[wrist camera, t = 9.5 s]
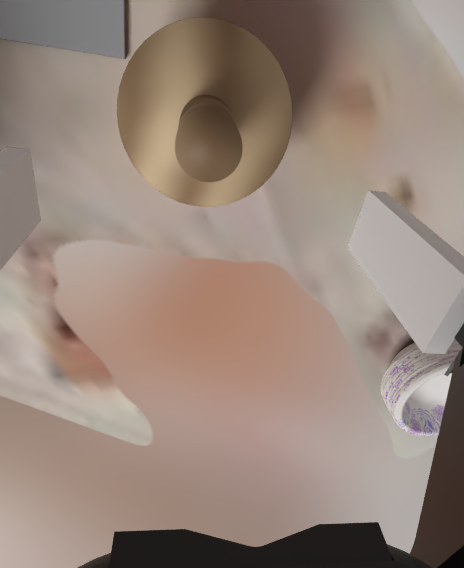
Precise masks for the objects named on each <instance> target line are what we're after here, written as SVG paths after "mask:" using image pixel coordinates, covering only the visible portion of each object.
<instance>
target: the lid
mask: <svg viewBox="0 0 464 568" xmlns="http://www.w3.org/2000/svg"><path fill="white" fill-rule="evenodd" d="M117 118H118V126H119V131H120V136H121V139H122V142H123V145H124V148H125V150H126V152H127V154H128V156H129V158H130V160H131V162H132V163H133V165H134V167H135V168H136V170H137V171H138V172H139V173H140V174H141V176H142V177H143V178H144V179H145V180H146V181H147V182H148V183H149V184H150V185H151V186H153V187H154V188H155V189H156V190H158V191H159V192H161V193H162V194H164V195H166V196H167V197H169V198H171V199H174V200H176V201H178V202H181V203H185V204H188V205H194V206H202V207H212V206H221V205H226V204H230V203H233V202H236V201H238V200H240V199H242V198H245V197H247V196H248V195H250V194H251V193H253V192H254V191H256V190H257V189H258V188H259V187H261V186H262V185H263V184H264V183H265V182H266V181H267V180H268V179H269V178H270V177H271V175H272V174H273V173H274V171H275V170H276V169H277V167H278V165H279V164H280V162H281V160H282V158H283V156H284V153H285V151H286V149H287V146H288V142H289V139H290V134H291V128H292V100H291V95H290V90H289V87H288V84H287V81H286V78H285V75H284V73H283V71H282V69H281V67H280V65H279V63H278V61H277V60H276V58H275V57H274V55H273V54H272V53H271V51H270V50H269V49H268V48H267V47H266V46H265V45H264V43H263V42H261V41H260V40H259V39H258V38H257V37H256V36H254V35H253V34H252V33H250V32H249V31H247V30H245V29H244V28H242V27H240V26H238V25H236V24H233V23H231V22H228V21H224V20H221V19H216V18H207V17H199V18H189V19H184V20H180V21H177V22H174V23H172V24H169V25H167V26H165V27H163V28H162V29H160V30H158V31H157V32H155V33H154V34H153V35H151V36H150V37H149V38H148V39H147V40H145V41H144V42H143V44H142V45H141V46H140V47H139V48H138V49H137V50H136V52H135V53H134V55H133V56H132V58H131V60H130V61H129V63H128V65H127V67H126V69H125V72H124V74H123V77H122V80H121V84H120V87H119V93H118V99H117Z"/></svg>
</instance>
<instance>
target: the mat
mask: <svg viewBox="0 0 464 568" xmlns="http://www.w3.org/2000/svg"><path fill="white" fill-rule="evenodd" d="M0 39H6V40H12V41H18V42H24V43H30V44H36V45H42V46H48V47H55V48H61V49H67V50H73V51H79V52H85V53H91V54H97V55H103V56H109V57H115V58H122V59H126V44H125V0H0Z"/></svg>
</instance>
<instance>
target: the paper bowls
mask: <svg viewBox="0 0 464 568" xmlns="http://www.w3.org/2000/svg"><path fill="white" fill-rule="evenodd" d="M462 348H463V347H462V346H461V345H460V344H459V343H458V342H457V340H456V339H454V341H453V342H452V344H451V345H450V347H449V348H448V350H447V351H446V353H445V354H434V353H422V352H421V350H420V349H419V347H418V346H417V345H416V343H412V344H410V345H409V346H407V347H405V348H404V349H403V350H401V351H400V352H399V353H398V354H397V355H396V356H395V358H394V359H393V360H392V362H391V364H390V367H389V368H388V369H387V371H386V372H385V374H384V376H383V379H382V382H381V394H382V397H383V399H384V402H385V403H386V405H387V407H388V409H389V411H390V412H391V414H392V416H393V418H394V420H395V422H396V423H397V425H398V426H399V427H400V428H401V429H403V430H404V431H406V432H408V433H411V434H415V435H421V436H435V435H439V430H440V426H441V421H442V417H443V412H444V408H445V403H446V399H447V394H448V390H449V385H450V381H451V376H452V373H450V374H449V375H448V376H446V375H444V374H445V372H446V371H447V369H448V368H449V366H450V365H451V364H452V362H453V361H454V359H455V358H456V356H457V355H458V353H459V352H460V350H461V349H462Z"/></svg>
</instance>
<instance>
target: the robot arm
mask: <svg viewBox="0 0 464 568" xmlns="http://www.w3.org/2000/svg"><path fill="white" fill-rule="evenodd" d="M40 221H41V217H40V210H39V204H38V198H37V191H36V185H35V179H34V172H33V166H32V159H31V153H30V149H22V148H13V147H6V148H4V149H2V150H1V151H0V270H1V269H2V268H3V266H4V265H5V264H6V263H7V261H8V260H9V259H10V258H11V256H12V255H13V254H14V253H15V252H16V250H17V249H18V248H19V247H20V245H21V244H22V243H23V242H24V240H25V239H26V238H27V237H28V235H29V234H30V233H31V232H32V231H33V229H34V228H35V227H36V226H37V224H38V223H39V222H40ZM347 249H348V250H349V252H350V253H351V254H352V256H353V257H354V259H355V260H356V261H357V263H358V264H359V266H360V267H361V268H362V270H363V271H364V272H365V274H366V275H367V277H368V278H369V279H370V281H371V282H372V284H373V285H374V286H375V288H376V289H377V290H378V292H379V293H380V295H381V296H382V297H383V299H384V300H385V302H386V303H387V304H388V306H389V307H390V309H391V310H392V311H393V313H394V314H395V315H396V317H397V318H398V320H399V321H400V322H401V324H402V325H403V327H404V328H405V329H406V331H407V332H408V333H409V335H410V336H411V338H412V339H413V340H414V342H415V343H416V345H417V346H418V347H419V349H420V350H421V352H422V353H434V354H445V353H446V351H447V350H448V348H449V347H450V345H451V344H452V342H453V341H454V339H456V340H457V342H458V343H459V344H460V345H461V346H462V347H463V348H462V349H461V350H460V352H459V353H458V355H457V356H456V358H455V359H454V361H453V362H452V364H451V365H450V366H449V368H448V369H447V371H446V372H445V374H444V375H446V376H448V375H449V374H450V373H452V376H451V381H450V385H449V390H448V394H447V399H446V403H445V408H444V412H443V417H442V421H441V426H440V430H439V435H438V439H437V444H436V448H435V453H434V457H433V462H432V466H431V471H430V475H429V480H428V484H427V489H426V493H425V497H424V502H423V507H422V512H421V516H420V520H419V525H418V529H417V533H416V538H415V542H414V545H413V547H412V550H411V552H410V554H408V553H407V552H405V551H402V550H400V549H397V548H395V547H392V546H390V545H387V544H386V541H385V539H384V537H383V534H382V531H381V528H380V526H379V523H377V522H375V523H348V524H319V525H316V526H314V527H311V528H309V529H306V530H303V531H301V532H298V533H296V534H293V535H290V536H288V537H285V538H283V539H280V540H277V541H275V542H272V543H269V544H267V545H264V546H261V547H251V546H246V545H243V544H239V543H235V542H231V541H228V540H223V539H220V538H216V537H212V536H209V535H205V534H201V533H197V532H193V531H189V530H186V529H178V530H150V531H123V532H114V538H113V545H112V551H111V553H109V554H107V555H104V556H101V557H98V558H96V559H94V560H92V561H90V562H88V563H86V564H84V565H82V566H80V567H78V568H464V257H463V256H462V255H461V254H460V253H459V252H457V251H456V250H455V249H454V248H452V247H451V246H450V245H449V244H448V243H446V242H445V241H444V240H443V239H442V238H440V237H439V236H438V235H437V234H435V233H434V232H433V231H432V230H431V229H429V228H428V227H427V226H426V225H425V224H423V223H422V222H421V221H420V220H418V219H417V218H416V217H415V216H414V215H412V214H411V213H410V212H409V211H407V210H406V209H405V208H404V207H403V206H401V205H400V204H399V203H398V202H397V201H395V200H394V199H393V198H392V197H390V196H389V195H388V194H387V193H386V192H379V191H371V190H368V193H367V195H366V198H365V201H364V204H363V206H362V209H361V212H360V214H359V217H358V220H357V223H356V225H355V228H354V231H353V233H352V236H351V239H350V242H349V244H348V247H347Z"/></svg>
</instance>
